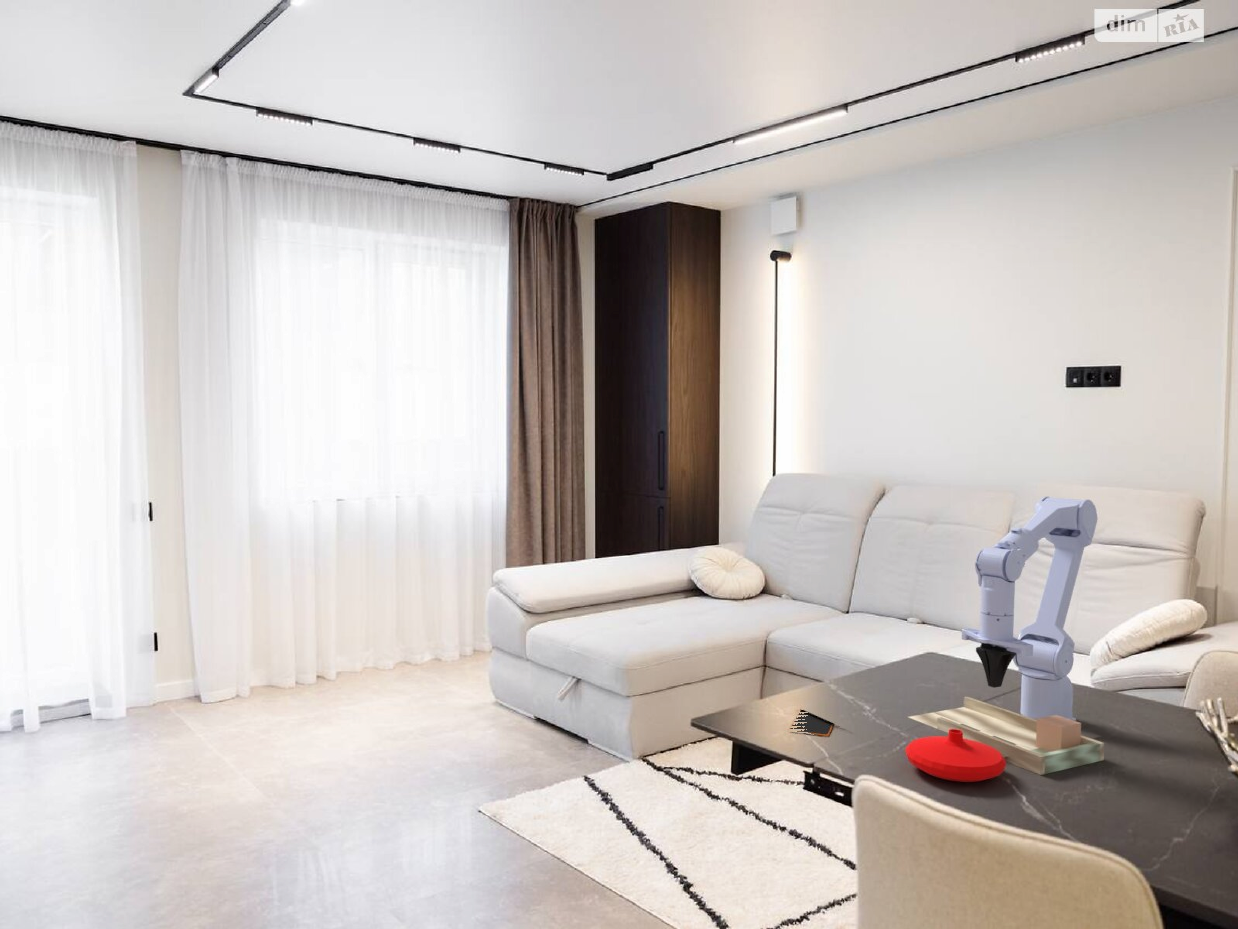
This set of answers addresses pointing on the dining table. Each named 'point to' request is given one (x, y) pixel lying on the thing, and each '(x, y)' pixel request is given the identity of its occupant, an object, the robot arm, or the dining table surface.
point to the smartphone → (814, 724)
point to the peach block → (1057, 733)
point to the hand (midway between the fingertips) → (994, 686)
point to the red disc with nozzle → (955, 757)
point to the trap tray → (1011, 736)
